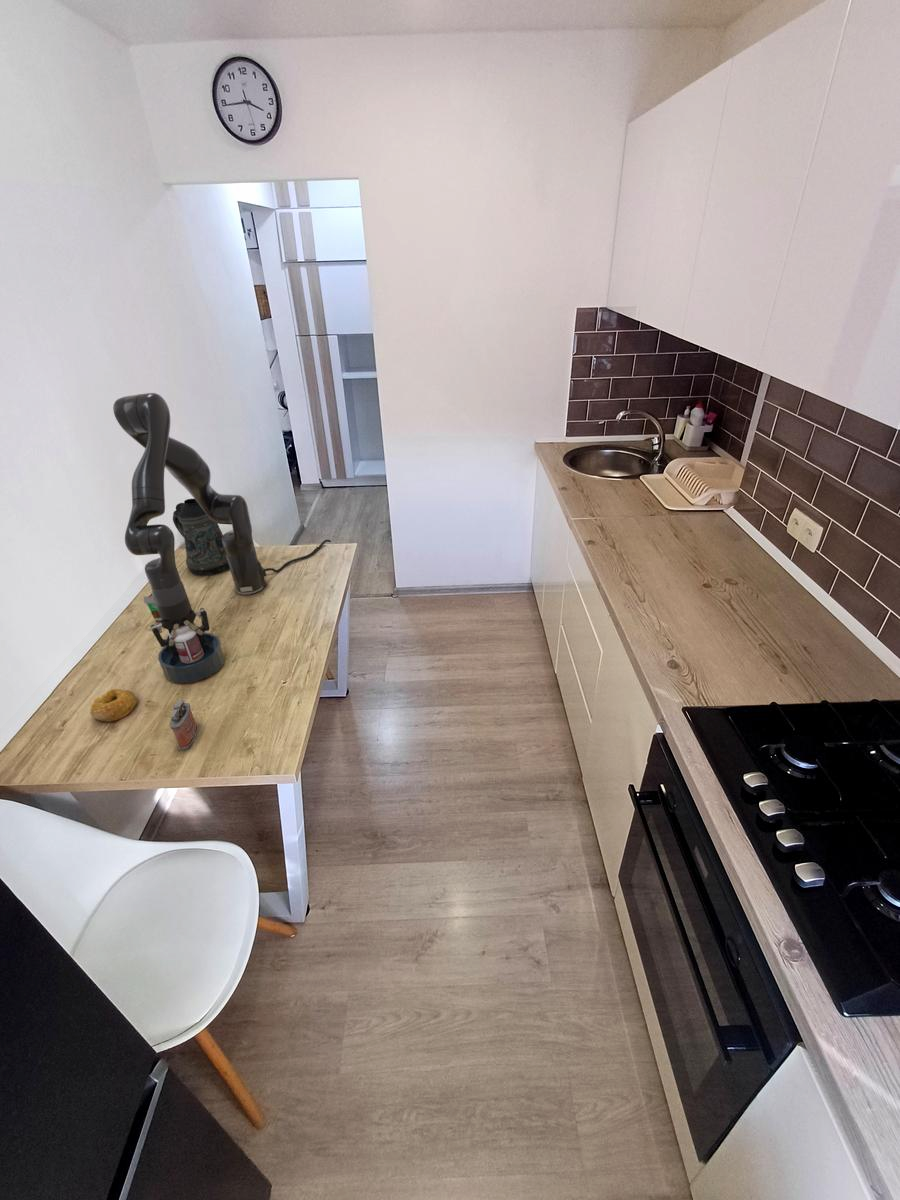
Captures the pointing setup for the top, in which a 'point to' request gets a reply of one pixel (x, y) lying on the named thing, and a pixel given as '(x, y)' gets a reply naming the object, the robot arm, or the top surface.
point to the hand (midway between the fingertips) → (189, 649)
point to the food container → (153, 607)
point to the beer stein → (200, 539)
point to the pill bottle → (188, 645)
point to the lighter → (183, 725)
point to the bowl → (196, 670)
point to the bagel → (113, 705)
